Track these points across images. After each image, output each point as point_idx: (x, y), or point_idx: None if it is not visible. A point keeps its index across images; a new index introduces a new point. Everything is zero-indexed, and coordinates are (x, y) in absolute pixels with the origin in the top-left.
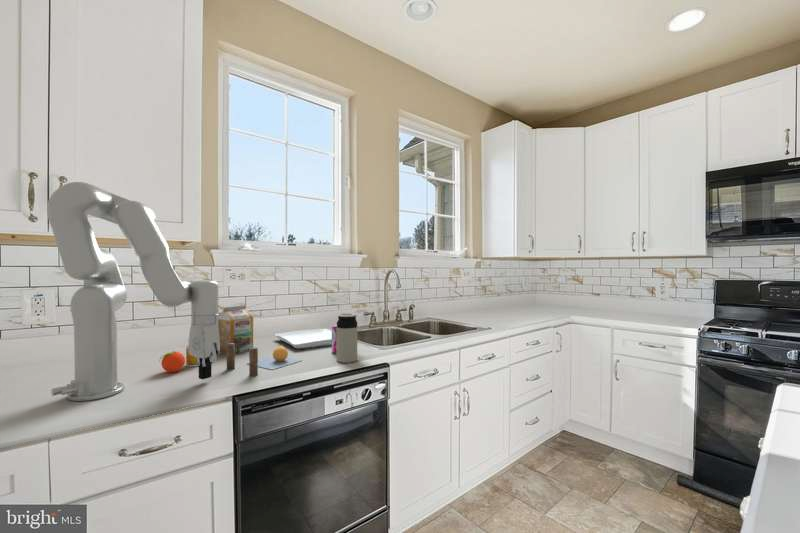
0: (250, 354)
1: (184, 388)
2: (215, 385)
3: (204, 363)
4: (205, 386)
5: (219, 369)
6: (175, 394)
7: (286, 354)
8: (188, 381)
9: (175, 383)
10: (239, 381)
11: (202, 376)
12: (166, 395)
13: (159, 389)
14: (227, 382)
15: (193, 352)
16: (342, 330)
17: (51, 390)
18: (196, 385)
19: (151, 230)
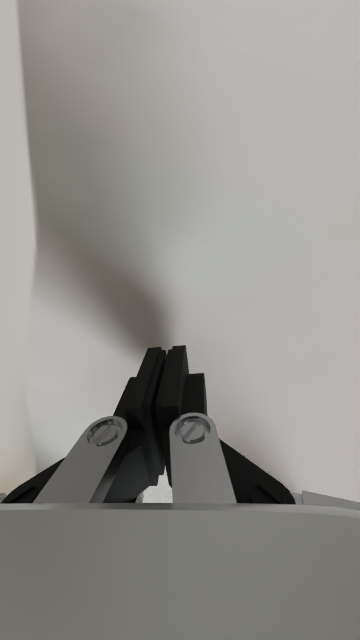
0: None
1: (160, 226)
2: (80, 368)
3: (71, 452)
4: (101, 328)
5: (343, 498)
6: (70, 121)
7: None
8: (289, 308)
9: (331, 229)
10: (62, 455)
11: (145, 361)
12: (93, 51)
13: (299, 65)
14: (87, 422)
15: (199, 619)
16: None
17: None
18: (162, 304)
19: None
